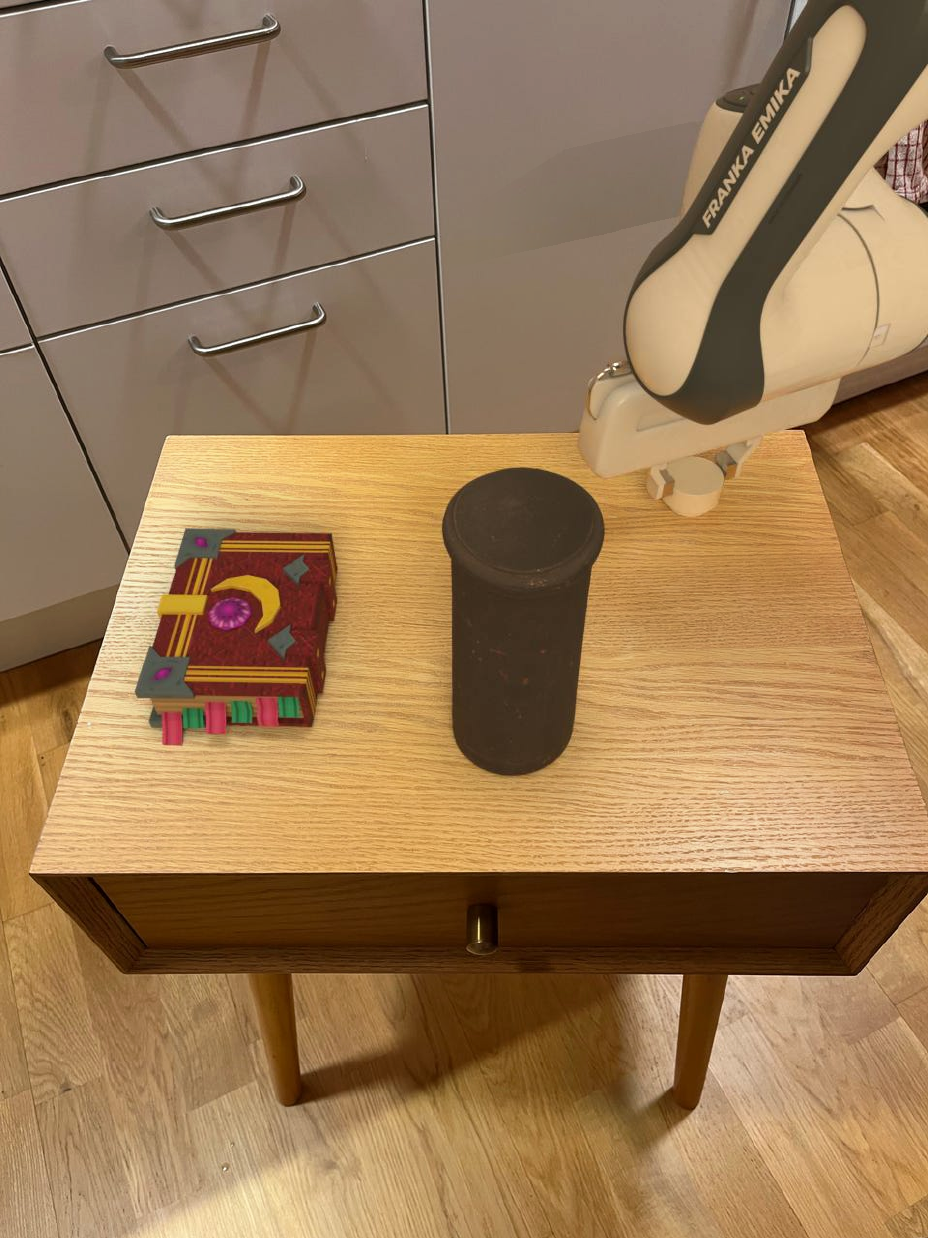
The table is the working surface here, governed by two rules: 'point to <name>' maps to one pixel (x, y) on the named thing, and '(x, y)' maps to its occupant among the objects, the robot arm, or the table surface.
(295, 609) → the decorative book
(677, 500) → the beige cylinder disc
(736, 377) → the robot arm
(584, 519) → the container
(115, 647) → the table surface
